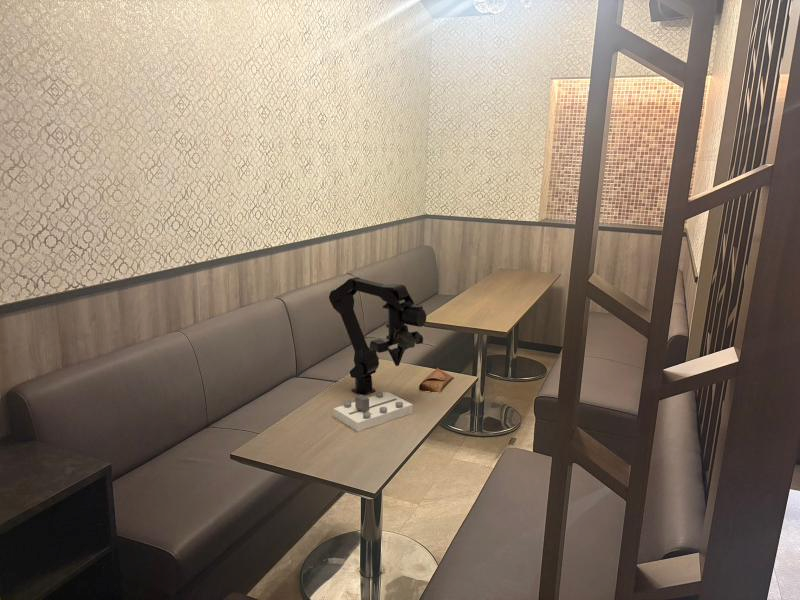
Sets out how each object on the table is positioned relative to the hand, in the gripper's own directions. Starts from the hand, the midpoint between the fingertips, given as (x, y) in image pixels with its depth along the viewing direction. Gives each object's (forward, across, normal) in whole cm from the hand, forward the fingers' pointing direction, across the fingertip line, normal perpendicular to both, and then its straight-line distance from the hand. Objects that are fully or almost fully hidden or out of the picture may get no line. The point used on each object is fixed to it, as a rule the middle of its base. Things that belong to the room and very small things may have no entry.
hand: (397, 365), depth 202 cm
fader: (+9, -17, -5) cm, 20 cm away
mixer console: (+13, -13, -5) cm, 19 cm away
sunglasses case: (+14, +21, +4) cm, 26 cm away
